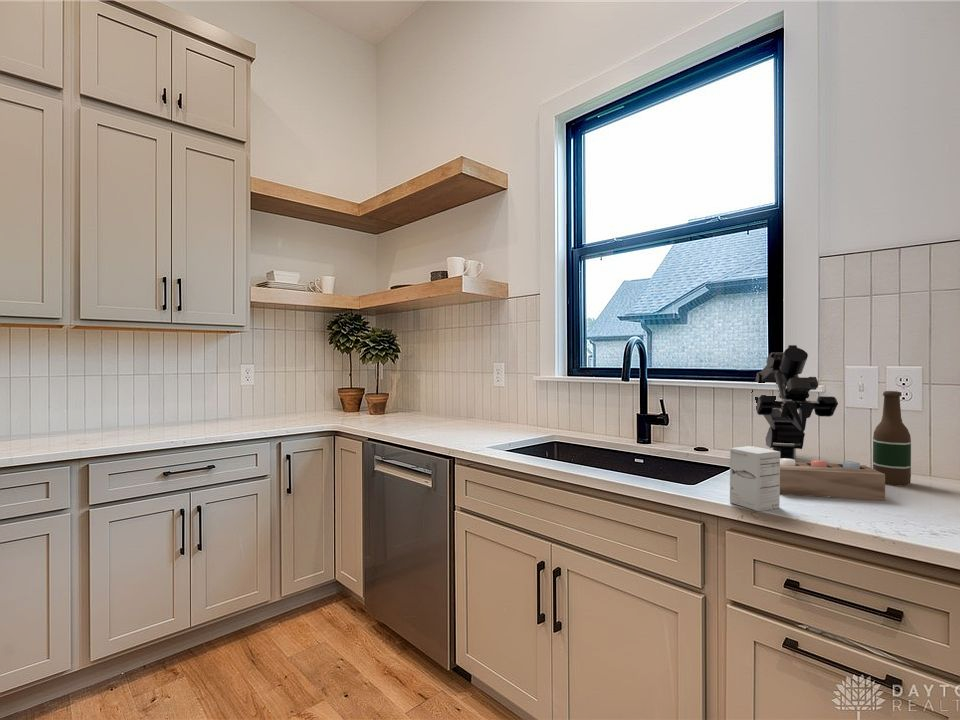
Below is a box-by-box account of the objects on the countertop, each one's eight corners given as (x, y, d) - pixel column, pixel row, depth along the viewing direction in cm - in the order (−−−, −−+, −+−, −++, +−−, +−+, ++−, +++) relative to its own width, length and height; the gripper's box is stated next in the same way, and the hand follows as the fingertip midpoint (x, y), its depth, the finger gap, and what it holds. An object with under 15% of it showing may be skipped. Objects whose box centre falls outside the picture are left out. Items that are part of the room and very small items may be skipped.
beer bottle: (873, 477, 141) (873, 389, 140) (910, 481, 136) (911, 391, 135) (872, 483, 134) (872, 391, 134) (911, 487, 130) (911, 392, 129)
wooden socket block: (766, 483, 134) (766, 460, 134) (864, 489, 128) (865, 465, 128) (778, 493, 124) (778, 469, 124) (885, 500, 118) (885, 474, 118)
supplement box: (728, 503, 116) (728, 447, 116) (751, 499, 119) (751, 445, 119) (757, 512, 110) (757, 453, 110) (781, 508, 113) (781, 450, 113)
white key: (777, 474, 132) (777, 457, 132) (792, 475, 131) (792, 458, 131) (781, 477, 129) (782, 460, 129) (797, 478, 128) (797, 461, 128)
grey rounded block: (840, 477, 128) (840, 460, 128) (856, 478, 128) (856, 461, 128) (846, 480, 125) (846, 463, 125) (862, 481, 124) (862, 464, 124)
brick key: (808, 475, 130) (808, 459, 130) (823, 476, 129) (824, 459, 129) (813, 478, 127) (813, 461, 127) (829, 479, 126) (829, 462, 126)
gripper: (758, 366, 144) (769, 410, 133) (835, 366, 139) (853, 411, 128) (751, 392, 152) (761, 435, 141) (824, 393, 147) (839, 438, 136)
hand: (802, 430), depth 136 cm, fingers closed
